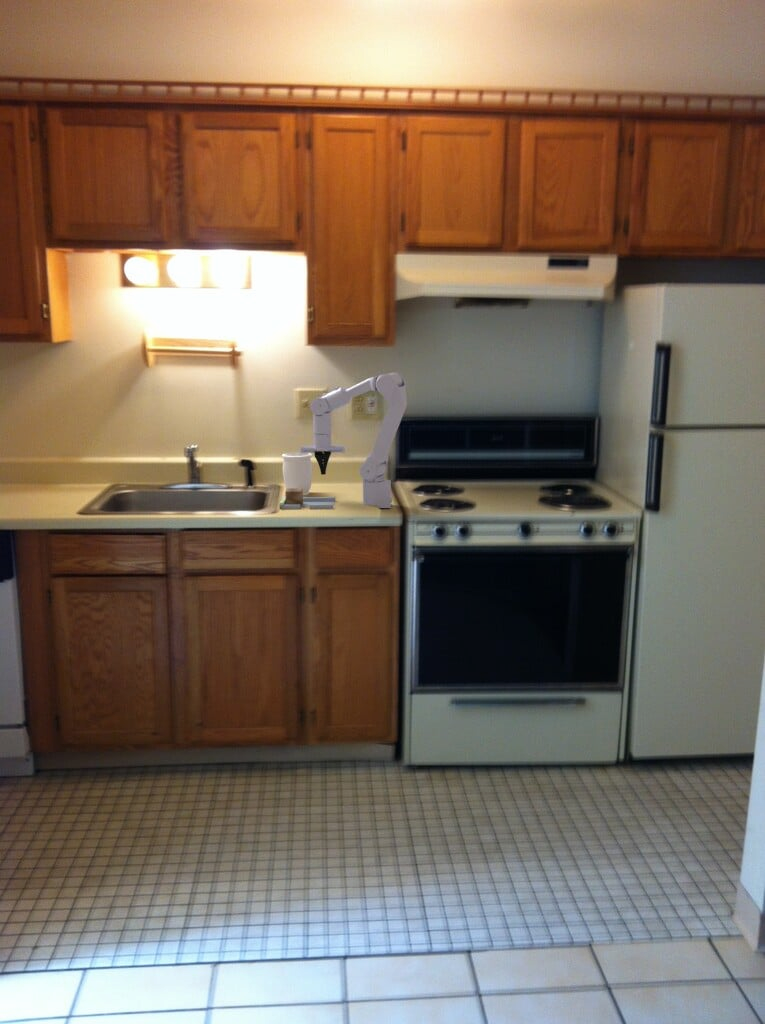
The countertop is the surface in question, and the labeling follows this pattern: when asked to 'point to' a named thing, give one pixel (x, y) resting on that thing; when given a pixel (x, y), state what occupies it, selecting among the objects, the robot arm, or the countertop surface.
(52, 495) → the countertop surface
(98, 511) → the countertop surface
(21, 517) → the countertop surface
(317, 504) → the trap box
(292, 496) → the walnut block
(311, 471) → the jar
